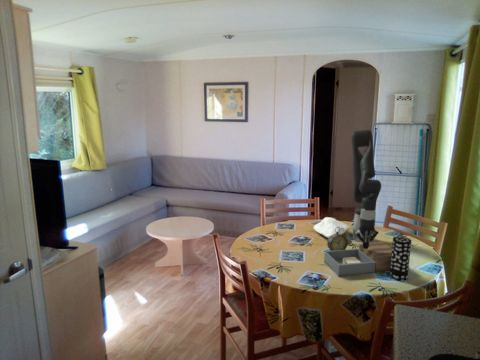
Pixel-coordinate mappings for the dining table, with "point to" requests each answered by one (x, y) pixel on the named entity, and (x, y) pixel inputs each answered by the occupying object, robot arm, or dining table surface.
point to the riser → (379, 255)
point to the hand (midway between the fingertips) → (365, 248)
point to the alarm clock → (337, 242)
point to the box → (336, 264)
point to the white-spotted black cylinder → (400, 258)
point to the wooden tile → (350, 260)
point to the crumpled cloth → (330, 227)
